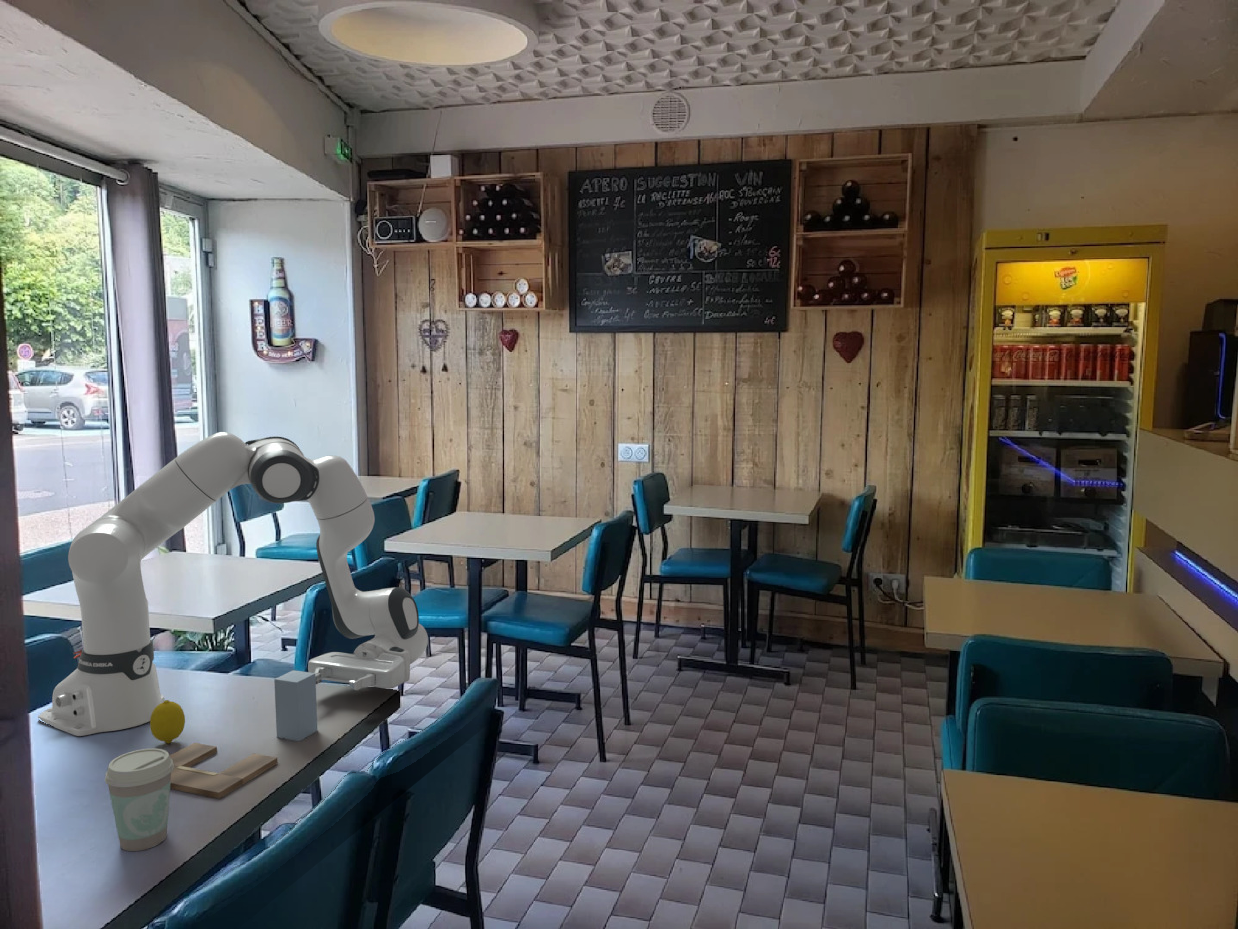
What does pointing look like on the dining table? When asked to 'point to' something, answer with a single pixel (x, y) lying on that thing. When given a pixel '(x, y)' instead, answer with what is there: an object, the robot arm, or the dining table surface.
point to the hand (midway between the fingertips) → (332, 683)
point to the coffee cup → (140, 797)
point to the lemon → (167, 721)
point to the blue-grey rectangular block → (295, 705)
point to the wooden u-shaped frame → (212, 781)
